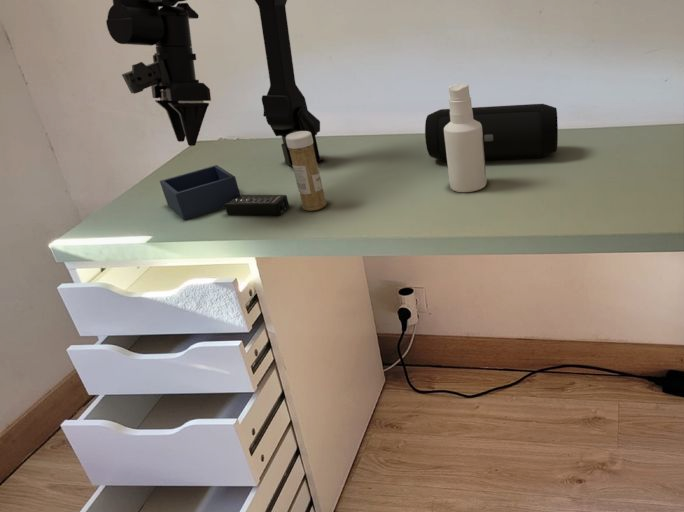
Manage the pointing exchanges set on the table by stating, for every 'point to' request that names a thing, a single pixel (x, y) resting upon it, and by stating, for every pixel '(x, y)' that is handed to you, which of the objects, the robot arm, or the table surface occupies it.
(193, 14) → the robot arm
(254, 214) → the multiport hub
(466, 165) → the spray bottle
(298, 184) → the sprinkles bottle
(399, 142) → the table surface
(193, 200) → the tub
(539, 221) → the table surface
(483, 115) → the portable speaker
